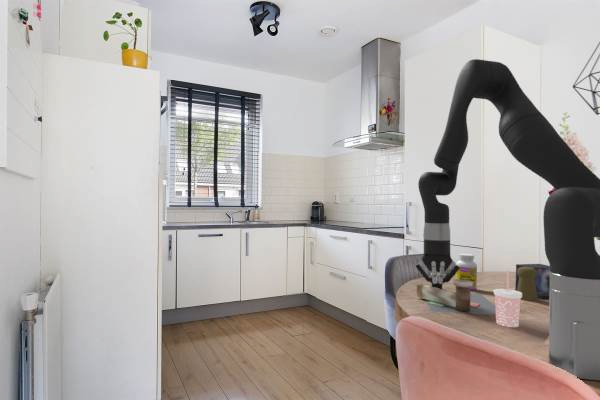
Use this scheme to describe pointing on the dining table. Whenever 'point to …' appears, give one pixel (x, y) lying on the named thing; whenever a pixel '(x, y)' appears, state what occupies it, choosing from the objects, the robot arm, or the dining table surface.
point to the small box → (538, 279)
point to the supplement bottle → (467, 269)
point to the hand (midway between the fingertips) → (436, 295)
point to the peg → (448, 294)
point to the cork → (527, 283)
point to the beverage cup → (507, 306)
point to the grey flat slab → (476, 306)
